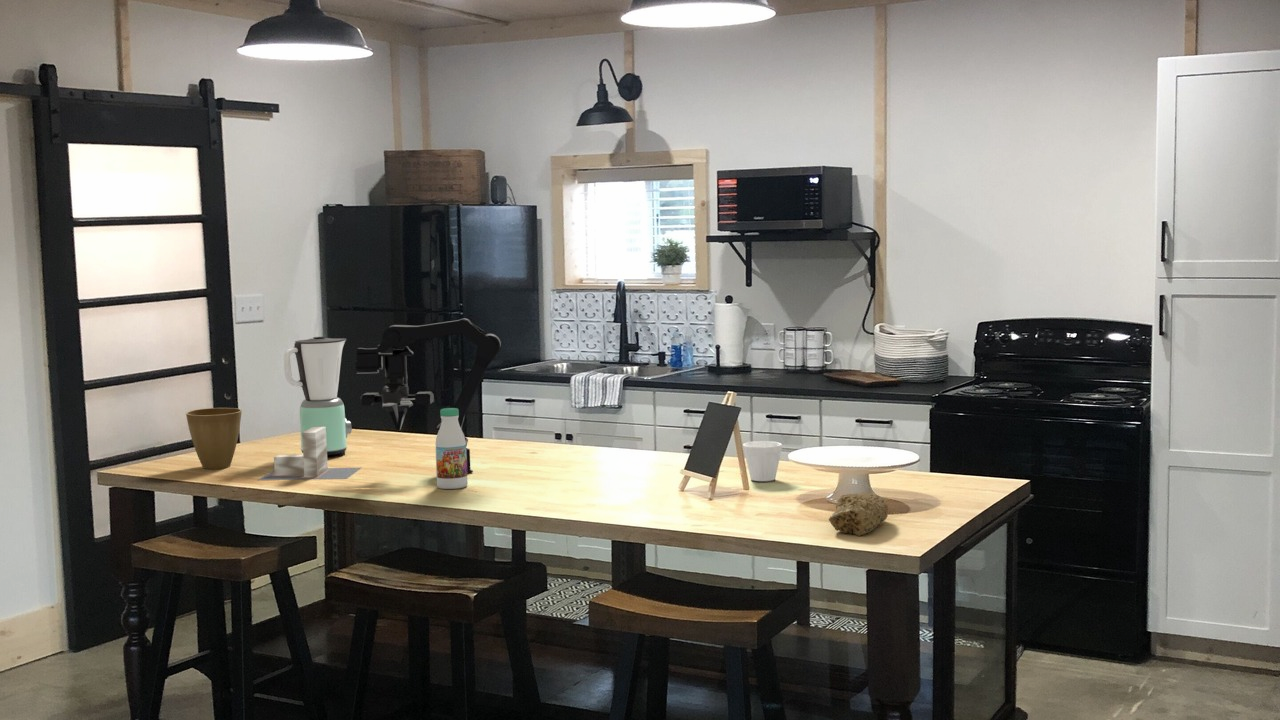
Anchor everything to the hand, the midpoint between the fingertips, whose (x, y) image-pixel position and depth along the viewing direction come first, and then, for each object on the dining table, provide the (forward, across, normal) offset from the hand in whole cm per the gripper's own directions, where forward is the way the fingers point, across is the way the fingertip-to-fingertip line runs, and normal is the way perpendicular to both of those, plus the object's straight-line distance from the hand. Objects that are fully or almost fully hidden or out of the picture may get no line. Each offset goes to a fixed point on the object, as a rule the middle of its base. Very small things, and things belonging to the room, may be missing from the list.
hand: (398, 430), depth 338 cm
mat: (+12, -25, +2) cm, 28 cm away
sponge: (+12, +113, -67) cm, 132 cm away
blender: (+12, -31, +33) cm, 47 cm away
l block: (+12, -28, +2) cm, 30 cm away
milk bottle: (+12, +17, -18) cm, 28 cm away
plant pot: (+12, -56, +17) cm, 60 cm away
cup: (+12, +96, -16) cm, 98 cm away
